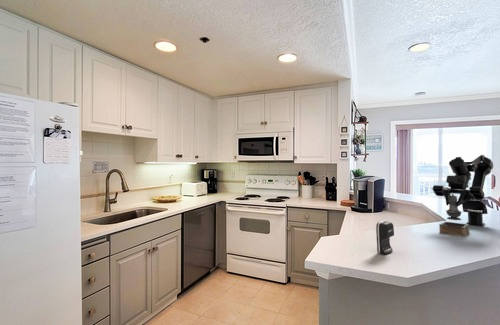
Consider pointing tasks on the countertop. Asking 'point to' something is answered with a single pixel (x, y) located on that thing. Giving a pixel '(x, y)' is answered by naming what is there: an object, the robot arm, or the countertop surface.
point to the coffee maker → (384, 236)
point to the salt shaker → (453, 209)
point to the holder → (454, 228)
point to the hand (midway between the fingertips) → (452, 205)
